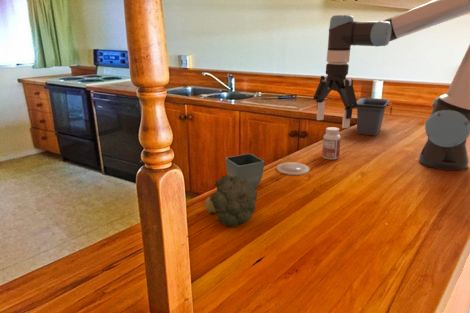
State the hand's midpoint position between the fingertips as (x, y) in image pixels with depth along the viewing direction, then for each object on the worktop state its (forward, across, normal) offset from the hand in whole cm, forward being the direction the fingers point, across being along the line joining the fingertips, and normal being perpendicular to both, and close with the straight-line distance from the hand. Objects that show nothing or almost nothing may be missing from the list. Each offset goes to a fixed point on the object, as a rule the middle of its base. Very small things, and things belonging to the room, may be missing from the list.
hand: (332, 123), depth 135 cm
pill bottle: (+13, 0, 0) cm, 13 cm away
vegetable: (+13, -26, +55) cm, 62 cm away
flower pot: (+13, -10, +42) cm, 45 cm away
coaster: (+13, -4, +20) cm, 24 cm away
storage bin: (+13, +21, -43) cm, 50 cm away
